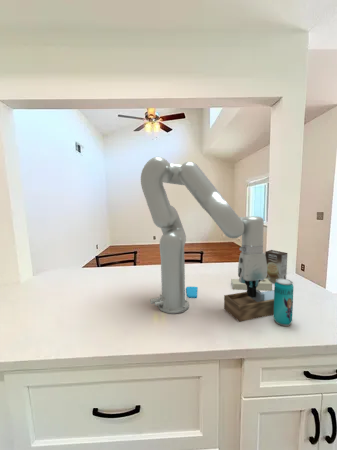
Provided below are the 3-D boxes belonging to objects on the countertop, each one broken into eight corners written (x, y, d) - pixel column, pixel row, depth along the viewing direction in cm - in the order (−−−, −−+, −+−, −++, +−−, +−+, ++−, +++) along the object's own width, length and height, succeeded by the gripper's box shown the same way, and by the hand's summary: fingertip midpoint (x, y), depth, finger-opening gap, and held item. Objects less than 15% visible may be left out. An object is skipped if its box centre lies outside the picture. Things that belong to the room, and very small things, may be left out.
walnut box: (239, 321, 76) (239, 306, 76) (224, 308, 86) (224, 295, 85) (275, 314, 81) (276, 300, 80) (257, 302, 90) (257, 290, 90)
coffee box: (263, 280, 116) (264, 251, 115) (270, 277, 120) (271, 249, 118) (280, 285, 109) (281, 254, 107) (286, 282, 112) (288, 252, 111)
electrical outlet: (231, 277, 112) (267, 278, 109) (231, 284, 112) (267, 285, 109) (233, 282, 104) (272, 283, 102) (233, 290, 105) (272, 291, 102)
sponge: (183, 296, 96) (196, 295, 95) (185, 286, 108) (197, 285, 107) (184, 299, 96) (197, 299, 95) (186, 289, 108) (197, 288, 107)
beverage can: (284, 328, 71) (285, 285, 70) (269, 320, 77) (270, 279, 75) (295, 324, 74) (297, 282, 72) (281, 316, 79) (282, 277, 78)
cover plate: (261, 304, 80) (261, 294, 80) (249, 296, 87) (249, 287, 87) (289, 300, 83) (289, 290, 83) (275, 292, 90) (276, 284, 90)
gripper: (241, 253, 75) (240, 303, 77) (275, 249, 79) (274, 297, 81) (229, 248, 82) (229, 294, 84) (261, 246, 87) (260, 289, 88)
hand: (251, 295), depth 83 cm, fingers closed
